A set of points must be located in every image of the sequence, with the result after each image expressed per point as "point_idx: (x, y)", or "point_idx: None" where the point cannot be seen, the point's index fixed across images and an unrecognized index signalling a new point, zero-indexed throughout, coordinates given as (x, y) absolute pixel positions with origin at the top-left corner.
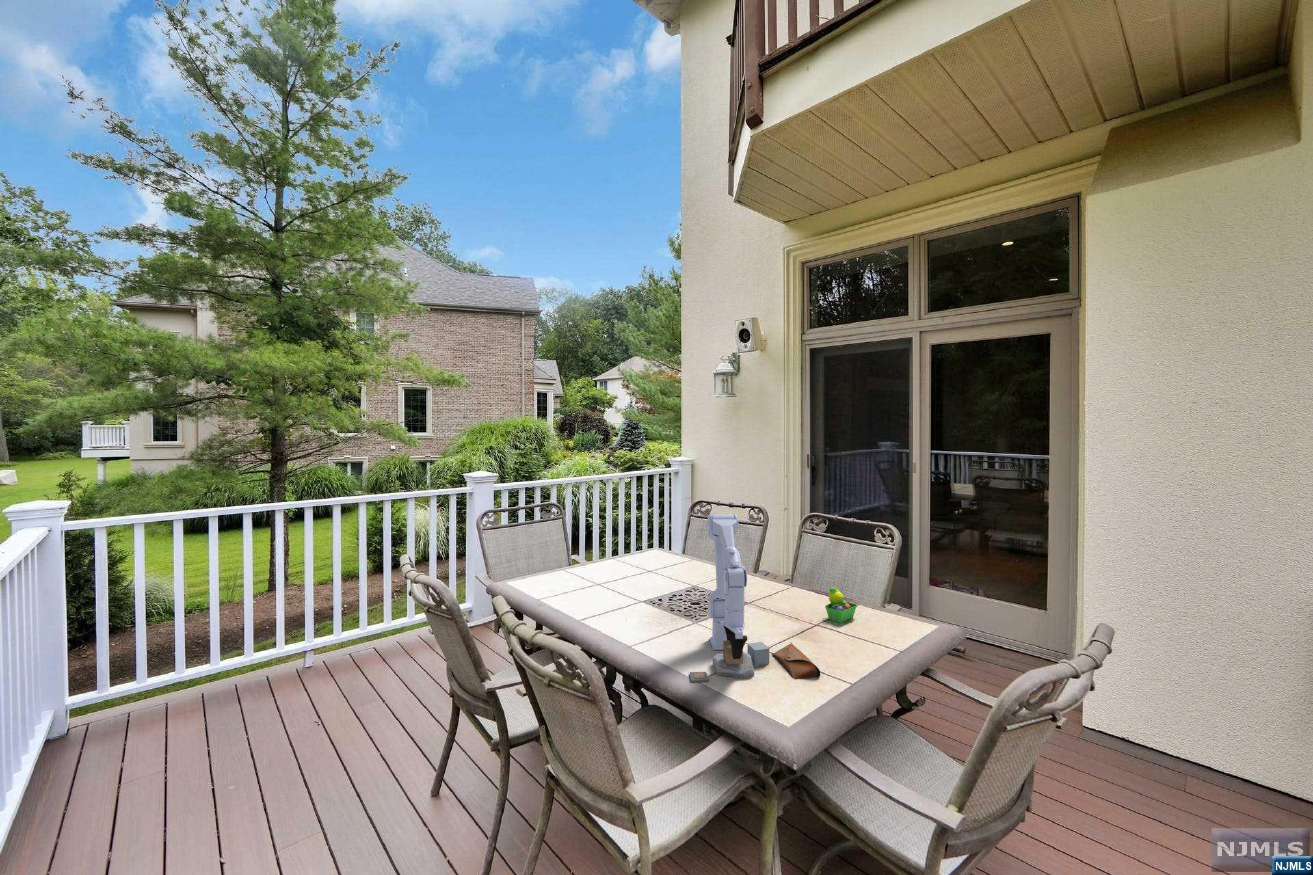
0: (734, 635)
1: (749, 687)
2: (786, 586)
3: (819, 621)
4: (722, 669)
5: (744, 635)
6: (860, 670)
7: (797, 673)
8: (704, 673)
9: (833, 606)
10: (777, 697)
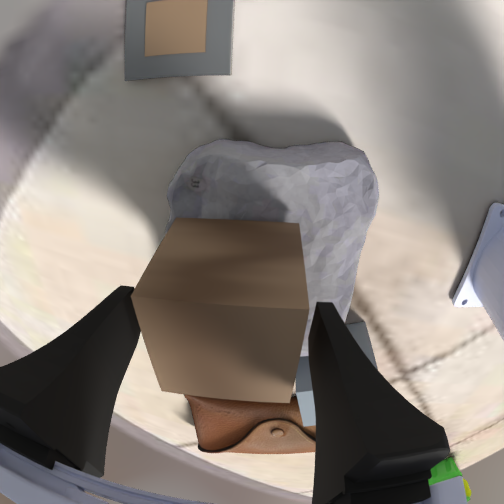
0: (35, 441)
1: (101, 264)
2: None
3: (453, 450)
4: (173, 179)
5: (90, 473)
6: (235, 466)
7: (197, 411)
8: (205, 61)
9: None
10: (66, 322)
